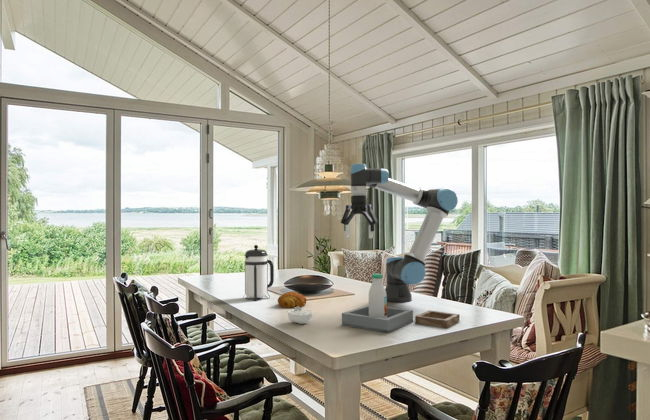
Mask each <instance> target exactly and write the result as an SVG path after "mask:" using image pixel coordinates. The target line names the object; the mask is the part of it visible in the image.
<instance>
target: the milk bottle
mask: <svg viewBox="0 0 650 420" xmlns="http://www.w3.org/2000/svg"><path fill="white" fill-rule="evenodd" d="M383 277H384V275H383V274H382V273H372V274H371V280H372V282H371V286H370V288H369V291H368V305H369V316H372V317H379V318H387V307H388V301H387V295H386V290H385V289H386V287H385V285H384V283H383V280H384V278H383Z"/></svg>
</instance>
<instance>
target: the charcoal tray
mask: <svg viewBox="0 0 650 420" xmlns="http://www.w3.org/2000/svg"><path fill="white" fill-rule="evenodd" d="M411 323H414V310H413V309H408V308H407V309H406V308H399V307H398V308H397V307H391V306H387V318H379V317H372V316H369V304H366V305H364V306H359V307H356V308H354V309H351V310H348V311H345V312H341V326H344V327H351V328H356V329H362V330H369V331H373V332H374V331H375V332H379V333H385V334H386V333H387V334H389V333H392V332H394V331H396V330H398V329H400V328H403V327H405V326H407V325H409V324H411Z"/></svg>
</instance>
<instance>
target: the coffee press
mask: <svg viewBox="0 0 650 420" xmlns="http://www.w3.org/2000/svg"><path fill="white" fill-rule="evenodd" d="M268 265H269V269H270V271H269V270H268ZM274 271H275V270H274V263H273V261H271V260H270V259H268V252H267V251H266V250H265V249H259V246H258V245H257V244H254V246H253V249H248V250H246V251H245V254H244V296H243V297H242V299H243V298H246V299H247V298H251V299H253V301H254V300H255V301H254V302H257V301H258V299H260V298H264V297H265V298H267V299H268V298H269V299H270V298H271V296H270V295H269V288H271V287H272V286H273V284H274V282H275V279H274V277H275V276H274V274H275V273H274ZM268 272H269V275H270V277H269V278H270V280H268ZM268 282H269V283H268ZM267 295H268V296H267ZM245 296H246V297H245ZM256 300H257V301H256Z"/></svg>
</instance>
